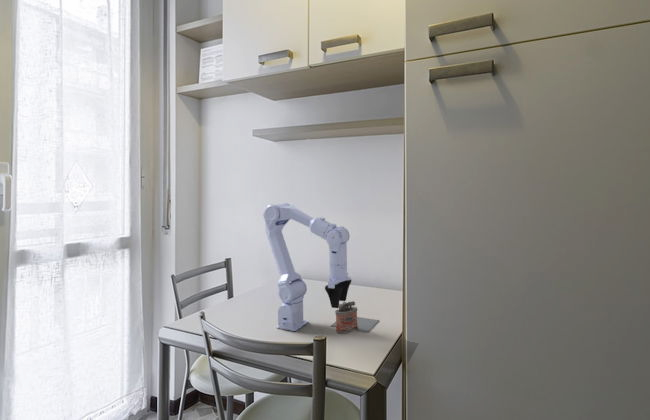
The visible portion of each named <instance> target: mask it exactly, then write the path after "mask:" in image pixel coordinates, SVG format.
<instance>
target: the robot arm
mask: <svg viewBox="0 0 650 420" xmlns="http://www.w3.org/2000/svg"><path fill="white" fill-rule="evenodd" d="M262 215H263V220H264V222H265V225H264V226H265V227H264V228H265V233H266V237H267V240H268V243H269V246H270V248H271V252H272V254H273V257H274V261H275V264H276V267H277V270H278V274H279V276H280V277H279V279H278V281H277V287H278V291H277V292H278V296H279V297H278V298H279V299H280V301H281V302H282V303H281V304H282V305H280V306H279V308H278V310H277V321H278V322H277V325H276V327H275V328H276V329H281V330H285V331H286V330H287V331H291V332H297V331H298V330H300V329H301V328H302V327H304V326H305V325H306V324H308V323H309V321H308V320H304V299H305V295H306V294H307V289H308V288H307V285H306V282H305V281H304V280H303V278H302V275H301V274H299V273H297V271H295V268H294V265H293V262H292V259H291V255H290V251H289V250H288V247H287V244H286V240H285V238H284V235H283V232H282V231H283V230H284V228H285V226H286V225H287V224H288V222H289V221H290V220H292V221H295V222H297V223H299V224H302V225H304V226H305V227H308V228H309V229H310V232H311V234H314V235H316V236H317V237H320V238H321V239H323V240H325V241H326V243H327V244H328V250H329V277H328V282H327V285H325V286H324V290H325V292H326V293H327V296H328V298H329V302H330V307H331V308H333V309H339V304H340V302H346V301H347V296H348V292H349V289H350V285H351V284H352V279H351V277H350V276H349V271H348V251H347V250H348V247H347V246H348V245H347V244H348V242H349V240H350V232H349V231H348V230H349V229H348V228H346V227H344V226H337V224H336V223H331V222H329V221H327V220H326V218H325V217H323V216H321V217H316V218H314V217H312V216H310V215H309V214H306V213H305V212H304V211H302V210H300V209H298V208H297V207H296V206H294V205H290V204H289V203H282V204H280V203H279V204H269V205H267V206H266V208H265V209H264V212H263V213H262Z"/></svg>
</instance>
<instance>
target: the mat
mask: <svg viewBox="0 0 650 420" xmlns="http://www.w3.org/2000/svg"><path fill="white" fill-rule="evenodd" d="M378 322H380V320H379V319H374V318H367V317H360V316H357V326H358V330H356V331H355V332H361V333H369V332H371V330H372V329H373V328H374V327H375V326H376V325H377V324H378ZM330 327H332V328H336V321H334V322H333V323H331V324H330Z"/></svg>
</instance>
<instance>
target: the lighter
mask: <svg viewBox="0 0 650 420" xmlns="http://www.w3.org/2000/svg"><path fill="white" fill-rule="evenodd" d="M334 312H335V322H336V327H335V328H336V329H335V332H336V334H338V335H343V334H349V333H352V332H357V331H356V330H358V326H357V317H358V307H357V306H356V302H355V300H354V301H353V300H352V301H348V302H346V301H342V303H339V307H338V309H335V311H334Z"/></svg>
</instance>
